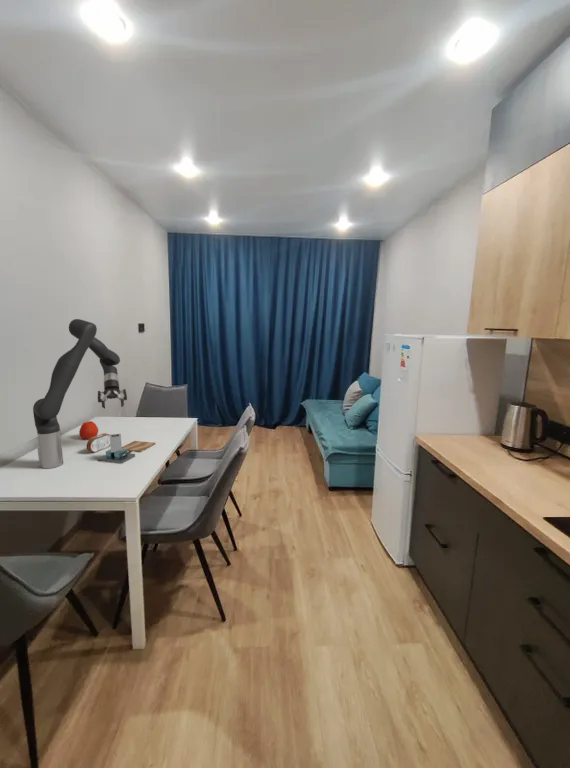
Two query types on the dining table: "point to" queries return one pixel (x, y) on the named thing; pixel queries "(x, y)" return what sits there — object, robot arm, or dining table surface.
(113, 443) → the sleeve
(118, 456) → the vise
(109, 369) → the robot arm
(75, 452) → the dining table surface
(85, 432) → the apple
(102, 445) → the tin
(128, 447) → the board
